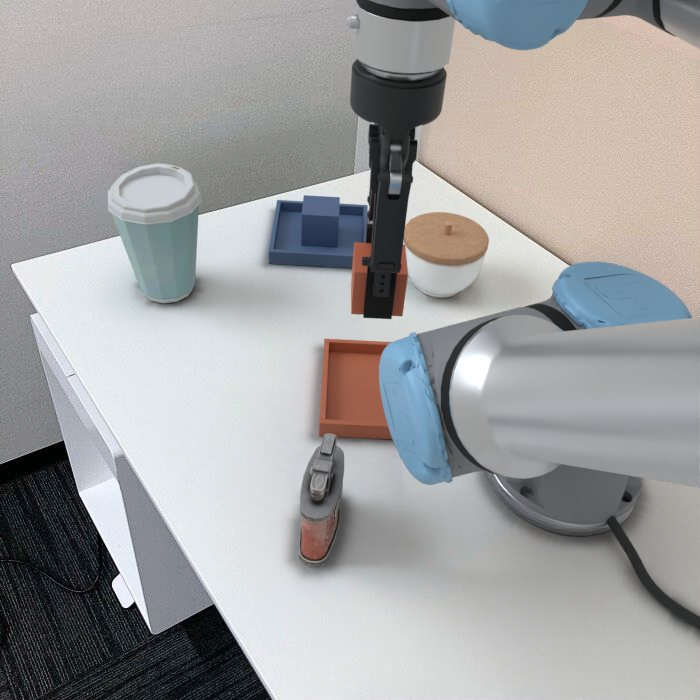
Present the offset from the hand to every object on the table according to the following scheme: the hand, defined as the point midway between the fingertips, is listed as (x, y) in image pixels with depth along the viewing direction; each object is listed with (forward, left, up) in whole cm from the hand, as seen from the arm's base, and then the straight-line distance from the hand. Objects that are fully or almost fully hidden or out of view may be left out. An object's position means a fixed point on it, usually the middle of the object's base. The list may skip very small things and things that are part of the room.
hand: (376, 297), depth 73 cm
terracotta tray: (0, -2, -13) cm, 13 cm away
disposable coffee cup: (+17, +25, -13) cm, 33 cm away
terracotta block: (0, 0, 0) cm, 0 cm away
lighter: (-18, +4, -13) cm, 23 cm away
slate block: (+30, +7, -13) cm, 33 cm away
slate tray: (+30, +6, -13) cm, 33 cm away
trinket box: (+21, -10, -13) cm, 26 cm away
